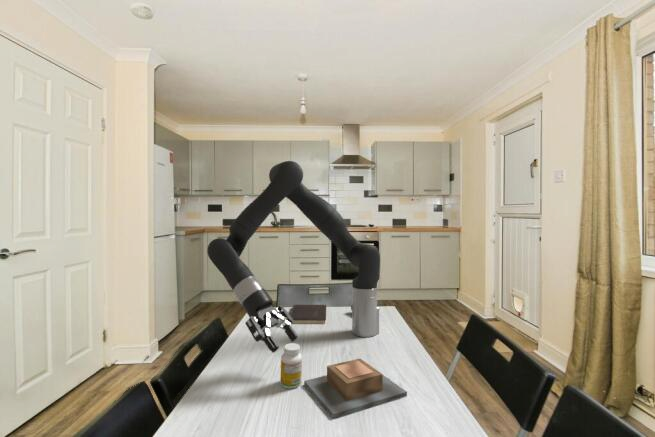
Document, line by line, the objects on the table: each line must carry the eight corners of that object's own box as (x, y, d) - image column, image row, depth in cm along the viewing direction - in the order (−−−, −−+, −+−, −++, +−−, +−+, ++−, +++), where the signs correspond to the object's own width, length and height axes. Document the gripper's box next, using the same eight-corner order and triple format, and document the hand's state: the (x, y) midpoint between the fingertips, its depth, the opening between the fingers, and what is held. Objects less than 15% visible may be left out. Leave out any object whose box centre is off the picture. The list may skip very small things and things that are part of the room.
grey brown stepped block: (369, 368, 92) (369, 350, 92) (406, 395, 78) (406, 374, 78) (304, 384, 83) (304, 364, 83) (333, 418, 69) (333, 394, 69)
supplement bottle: (283, 376, 87) (284, 340, 86) (303, 378, 86) (304, 343, 85) (277, 387, 82) (278, 350, 81) (298, 390, 81) (299, 352, 80)
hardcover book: (326, 309, 155) (326, 304, 155) (325, 325, 132) (325, 319, 132) (292, 309, 155) (292, 304, 155) (286, 325, 132) (286, 319, 132)
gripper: (242, 293, 84) (278, 345, 78) (276, 283, 96) (308, 328, 91) (226, 310, 86) (260, 363, 81) (261, 299, 99) (293, 344, 93)
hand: (286, 344), depth 86 cm, fingers open, 8 cm apart
